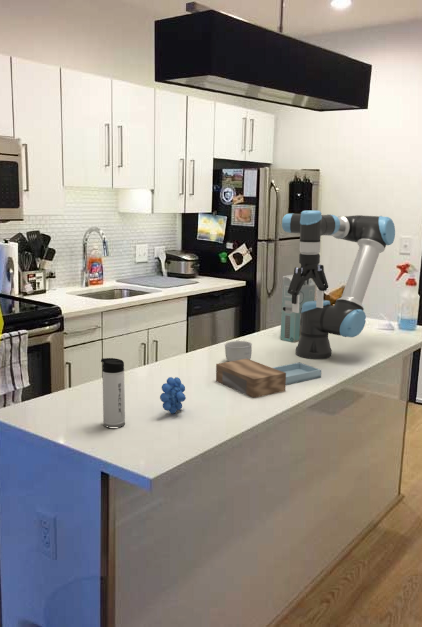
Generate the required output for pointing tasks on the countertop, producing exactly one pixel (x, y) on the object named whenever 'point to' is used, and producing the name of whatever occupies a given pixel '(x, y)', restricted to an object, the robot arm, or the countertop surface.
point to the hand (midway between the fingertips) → (307, 309)
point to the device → (289, 318)
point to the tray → (299, 372)
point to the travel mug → (113, 392)
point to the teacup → (238, 350)
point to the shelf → (250, 377)
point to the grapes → (172, 395)
